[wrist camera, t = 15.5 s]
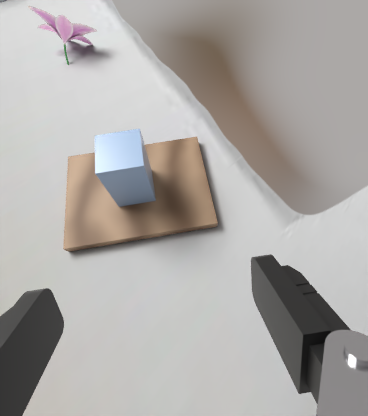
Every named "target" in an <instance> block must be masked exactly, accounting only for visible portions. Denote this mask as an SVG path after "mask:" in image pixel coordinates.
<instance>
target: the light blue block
mask: <svg viewBox="0 0 368 416" xmlns="http://www.w3.org/2000/svg"><path fill="white" fill-rule="evenodd" d="M95 174H96V175H97V177H98V178H99V180H100V181H101V182H102V184H103V185H104V187H105V188H106V189H107V191H108V192H109V194H110V195H111V197H112V198H113V199H114V201H115V202H116V204H117V205H118V206H119V207H121V206H127V205H133V204H139V203H145V202H151V201H156V199H155V191H154V183H153V176H152V169H151V166H150V162H149V159H148V155H147V152H146V149H145V145H144V142H143V138H142V135H141V132H140V129H135V130H128V131H122V132H115V133H109V134H103V135H96V136H95Z"/></svg>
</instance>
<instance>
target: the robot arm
mask: <svg viewBox="0 0 368 416" xmlns="http://www.w3.org/2000/svg"><path fill="white" fill-rule="evenodd" d="M251 274H252V292H253V297H254V301H255V303H256V306H257V308H258V310H259V312H260V314H261V316H262V318H263V320H264V322H265V324H266V327H267V329H268V331H269V333H270V335H271V337H272V339H273V341H274V343H275V345H276V347H277V349H278V351H279V353H280V356H281V358H282V360H283V362H284V364H285V366H286V368H287V370H288V372H289V374H290V376H291V378H292V380H293V383H294V385H295V387H296V389H297V391H298V393H299V394H301V393H307V392H311V393H312V395H313V397H314V399H315V401H316V402H317V404H318V405H317V414H316V416H368V336H366V335H364V334H362V333H359V332H355V331H351V330H350V329H349V327H348V326H347V325H346V324H345V323H344V322H343V321H342V319H341V318H340V317H339V316H338V315H337V314H336V313H335V311H334V310H333V309H332V308H331V307H330V306H329V305H328V304H327V302H326V301H325V300H324V299H323V298H322V297H321V296H320V294H319V293H317V291H316V290H315V289H314V288H313V286H312V285H310V284H309V282H308V281H307V280H306V278H305V277H304V276H303V275H302V274H301V273H300V272H298V271H297V270H295V269H293V268H292V267H290V266H288V265H287V266H280V264H279V263H278V262H277V260H276V259H275V258H274V257H273V255H264V256H258V257H252V259H251ZM63 328H64V320H63V317H62V314H61V312H60V310H59V307H58V305H57V302H56V300H55V298H54V295H53V293H52V291H51V290H50V289H40V290H34V291H27V292H25V293H24V294H23V295H22V296H21V298H20V299H19V300H18V301H17V302H16V304H15V305H14V306H13V307H12V308H10V309H9V310H8V311H7V312H5V313H4V314H3V315H2V316H0V416H22V415H23V413H24V411H25V409H26V407H27V405H28V403H29V401H30V399H31V397H32V395H33V393H34V390H35V388H36V386H37V384H38V382H39V380H40V378H41V376H42V374H43V372H44V370H45V368H46V366H47V364H48V362H49V360H50V358H51V356H52V354H53V352H54V350H55V348H56V346H57V344H58V342H59V339H60V337H61V335H62V333H63Z"/></svg>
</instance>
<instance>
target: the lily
mask: <svg viewBox="0 0 368 416" xmlns="http://www.w3.org/2000/svg"><path fill="white" fill-rule="evenodd" d="M28 7H29V8H30V9H31V10H32V11H34V12H35V13H37V14H38V15H39V16H40V17H41V18H42V19H44V20H45V21H46V22H47V24H42V25H39V26H38V28H41V29H45V30H49V31H53V32H56V33H57V34H58V35H59V36H60V38H61V39H62V40H63V42H64V50H65V56H66V60H67V64H68V65H69V62H68V58H67V54H66V42H67V41H70V40H73V39H78V40H80V41H83V42H85V43H88V44H90V45H93V44H92V43H91V42H90V41H89V40H88V39H87V38H85V37H83V36H82V35H85V34H87V33H91V32H96V31H97V30H95V29H93V28H91V27H88V26H85V25H82V24H77V23H76V24H71V22H70V21H69V20H68V19H67V18H66V17H65V16H63V15H59V16H58V17H56V18H55V17H54V16H52V15H51V14H49V13H47V12H45V11H43V10H40V9H37V8H34V7H31V6H28Z"/></svg>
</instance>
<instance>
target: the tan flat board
mask: <svg viewBox="0 0 368 416" xmlns="http://www.w3.org/2000/svg"><path fill="white" fill-rule="evenodd" d="M145 149H146V152H147V155H148V159H149V162H150V166H151V169H152V176H153V183H154V191H155V199H156V201H151V202H145V203H139V204H133V205H127V206H121V207H119V206H118V205H117V204H116V202H115V201H114V199H113V198H112V197H111V195H110V194H109V192H108V191H107V189H106V188H105V187H104V185H103V184H102V182H101V181H100V180H99V178H98V177H97V175H96V174H95V153H89V154H83V155H76V156H70V157H68V172H67V191H66V210H65V229H64V248H63V249H64V250H66V251H68V252H69V251H75V250H81V249H87V248H93V247H99V246H105V245H111V244H117V243H123V242H129V241H135V240H140V239H146V238H152V237H158V236H164V235H170V234H176V233H182V232H188V231H194V230H200V229H206V228H212V227H217V224H218V222H217V218H216V214H215V209H214V205H213V201H212V197H211V193H210V189H209V184H208V180H207V176H206V172H205V168H204V164H203V159H202V155H201V151H200V147H199V143H198V139H197V137H192V138H185V139H179V140H173V141H166V142H160V143H153V144H147V145H145Z"/></svg>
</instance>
